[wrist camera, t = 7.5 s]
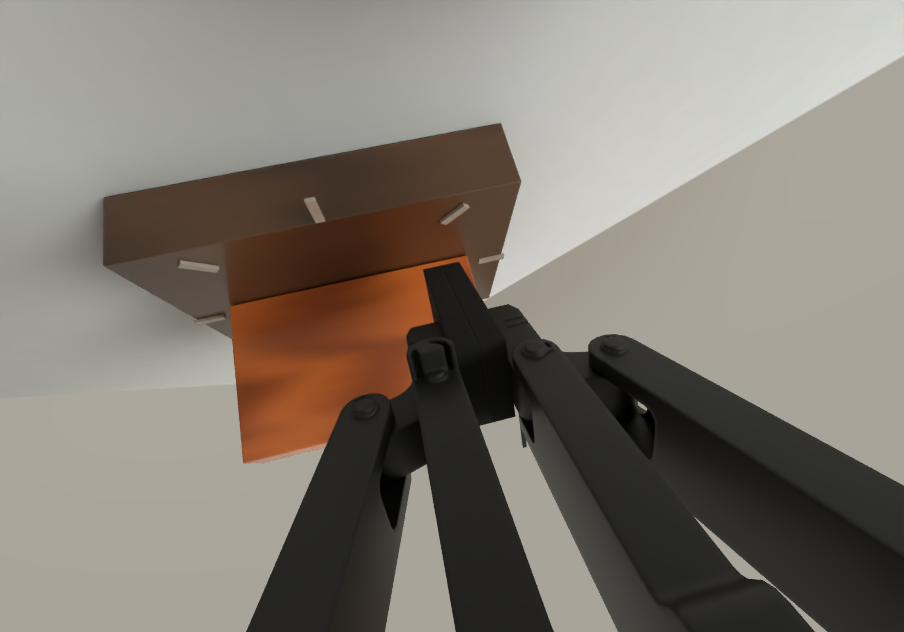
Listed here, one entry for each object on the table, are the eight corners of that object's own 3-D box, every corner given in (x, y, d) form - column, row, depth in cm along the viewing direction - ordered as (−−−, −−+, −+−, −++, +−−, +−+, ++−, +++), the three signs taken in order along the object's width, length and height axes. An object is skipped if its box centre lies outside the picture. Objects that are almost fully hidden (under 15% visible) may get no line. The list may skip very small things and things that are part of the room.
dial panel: (256, 317, 30) (261, 359, 29) (65, 171, 15) (62, 250, 14) (477, 268, 32) (488, 307, 31) (509, 91, 17) (533, 157, 16)
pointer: (248, 319, 23) (263, 468, 21) (228, 305, 21) (243, 469, 19) (464, 272, 24) (502, 408, 22) (466, 254, 22) (509, 402, 20)
